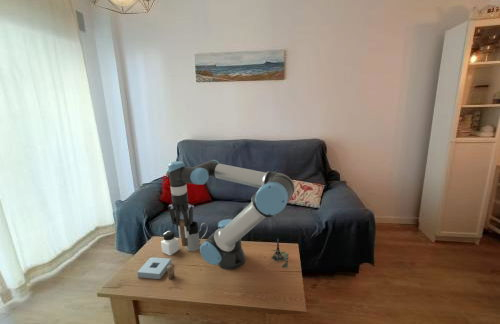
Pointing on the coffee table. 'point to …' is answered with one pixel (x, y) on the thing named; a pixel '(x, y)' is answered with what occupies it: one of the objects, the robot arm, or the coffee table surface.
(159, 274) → the collar plate
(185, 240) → the long pin
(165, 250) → the medicine bottle
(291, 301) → the coffee table surface
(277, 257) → the grey-green irregular piece
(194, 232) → the grey black mug
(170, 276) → the short pin
